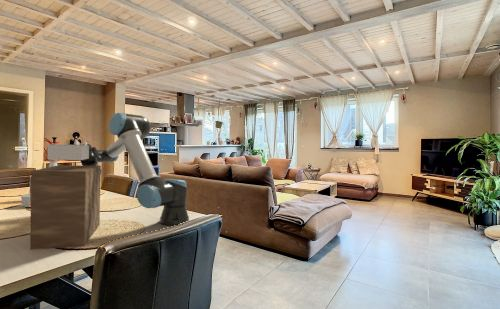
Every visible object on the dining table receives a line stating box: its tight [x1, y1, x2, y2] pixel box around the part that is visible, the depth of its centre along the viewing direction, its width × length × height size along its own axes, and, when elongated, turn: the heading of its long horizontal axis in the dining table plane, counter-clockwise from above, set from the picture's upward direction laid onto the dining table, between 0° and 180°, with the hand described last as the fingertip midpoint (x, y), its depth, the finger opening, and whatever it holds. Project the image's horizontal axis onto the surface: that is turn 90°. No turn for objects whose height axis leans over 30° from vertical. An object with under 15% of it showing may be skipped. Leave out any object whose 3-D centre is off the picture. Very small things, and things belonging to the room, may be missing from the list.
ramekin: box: [20, 193, 31, 208], centre depth 169 cm, size 13×13×7 cm
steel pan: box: [47, 144, 90, 161], centre depth 126 cm, size 32×12×6 cm, turn 18°
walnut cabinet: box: [29, 164, 102, 251], centre depth 118 cm, size 28×18×30 cm, turn 18°
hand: (80, 141), depth 131 cm, fingers closed on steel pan, 3 cm apart
